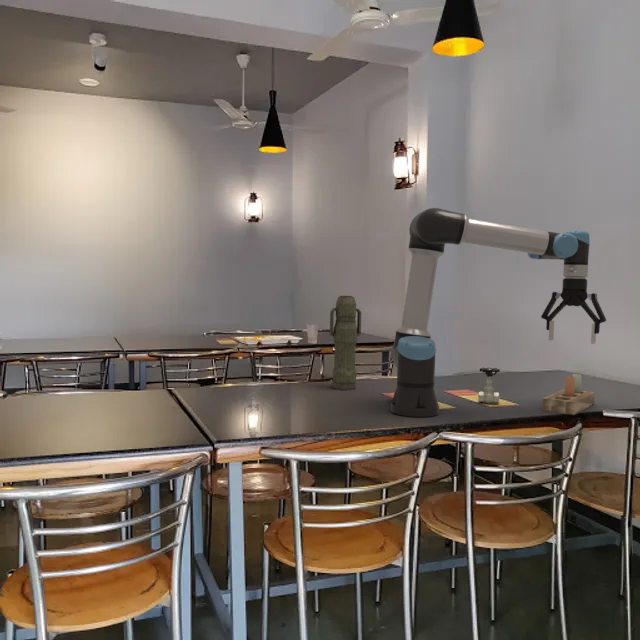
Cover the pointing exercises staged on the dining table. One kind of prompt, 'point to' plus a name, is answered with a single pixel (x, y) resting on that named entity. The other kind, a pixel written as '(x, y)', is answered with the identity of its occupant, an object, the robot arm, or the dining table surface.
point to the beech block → (568, 402)
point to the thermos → (345, 342)
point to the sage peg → (577, 383)
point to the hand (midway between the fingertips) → (571, 341)
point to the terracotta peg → (569, 386)
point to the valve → (489, 387)
